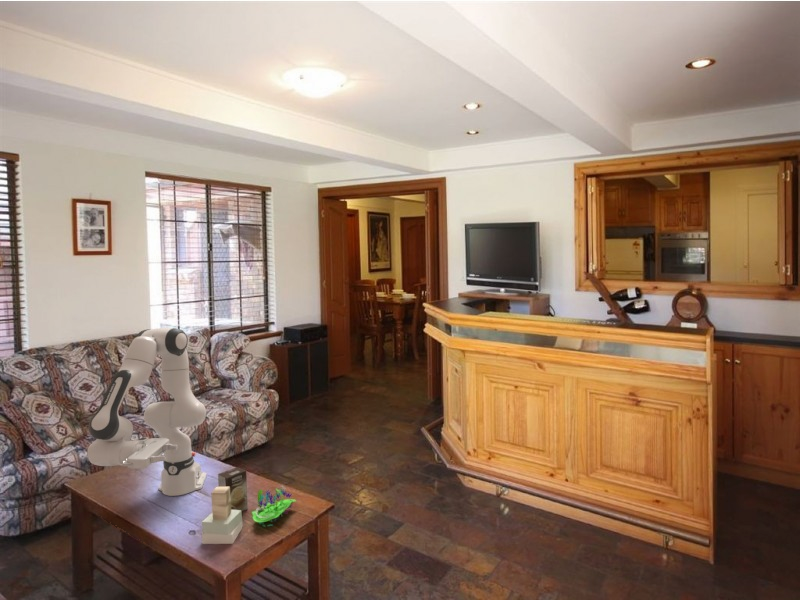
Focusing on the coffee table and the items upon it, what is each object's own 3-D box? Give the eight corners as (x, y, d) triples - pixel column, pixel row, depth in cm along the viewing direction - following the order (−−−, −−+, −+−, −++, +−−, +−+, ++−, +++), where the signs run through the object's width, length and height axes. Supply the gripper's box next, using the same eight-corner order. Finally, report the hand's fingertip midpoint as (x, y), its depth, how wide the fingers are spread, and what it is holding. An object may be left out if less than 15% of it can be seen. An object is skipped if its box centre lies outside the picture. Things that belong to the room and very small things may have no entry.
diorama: (240, 523, 205) (238, 492, 203) (281, 502, 220) (280, 474, 219) (263, 535, 196) (262, 502, 195) (304, 512, 212) (303, 482, 211)
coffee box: (228, 518, 209) (226, 478, 207) (219, 513, 213) (217, 474, 211) (248, 508, 216) (246, 470, 214) (239, 504, 220) (237, 466, 218)
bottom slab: (213, 528, 202) (213, 518, 202) (242, 528, 202) (242, 518, 201) (202, 545, 191) (201, 534, 191) (232, 545, 191) (232, 534, 190)
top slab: (217, 518, 202) (217, 508, 202) (241, 520, 200) (241, 510, 199) (202, 532, 192) (201, 521, 192) (227, 534, 190) (227, 524, 190)
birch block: (217, 512, 198) (216, 486, 197) (231, 512, 198) (229, 486, 197) (212, 519, 193) (211, 493, 192) (226, 519, 193) (225, 493, 192)
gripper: (118, 456, 187) (157, 455, 187) (146, 435, 207) (182, 434, 207) (119, 473, 188) (158, 473, 187) (147, 450, 208) (183, 450, 208)
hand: (171, 452), depth 197 cm, fingers open, 8 cm apart
